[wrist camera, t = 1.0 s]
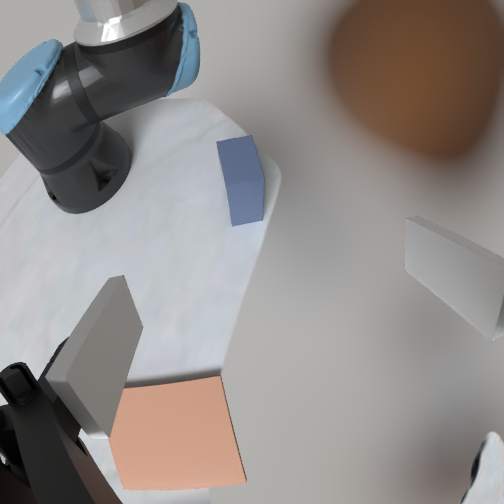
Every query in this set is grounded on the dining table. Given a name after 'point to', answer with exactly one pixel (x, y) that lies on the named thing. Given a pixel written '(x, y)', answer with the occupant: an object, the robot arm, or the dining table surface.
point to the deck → (242, 179)
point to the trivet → (176, 437)
